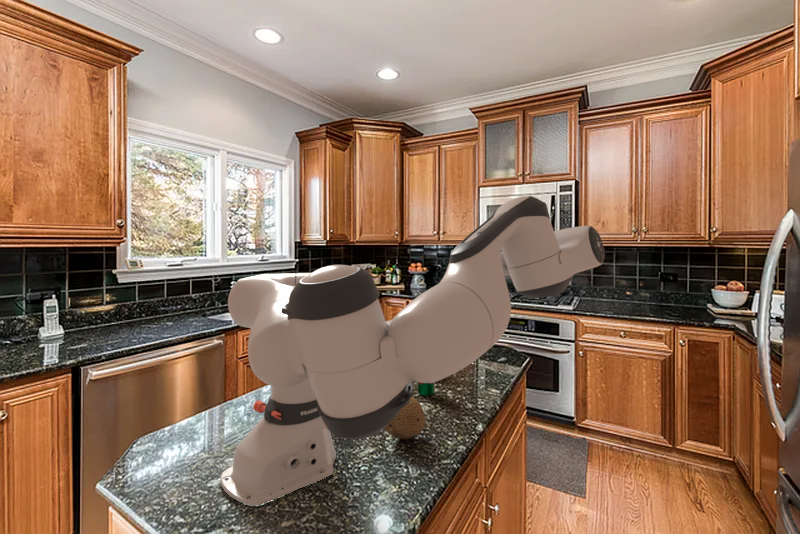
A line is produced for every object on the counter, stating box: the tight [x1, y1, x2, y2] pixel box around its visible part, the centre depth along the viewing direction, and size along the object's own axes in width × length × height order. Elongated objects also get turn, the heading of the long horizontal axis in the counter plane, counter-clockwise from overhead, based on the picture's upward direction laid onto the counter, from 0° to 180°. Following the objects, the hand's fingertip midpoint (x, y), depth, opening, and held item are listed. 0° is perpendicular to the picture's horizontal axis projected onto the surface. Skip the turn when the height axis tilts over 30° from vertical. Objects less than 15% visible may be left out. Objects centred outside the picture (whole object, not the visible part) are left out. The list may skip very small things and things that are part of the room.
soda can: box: [416, 382, 435, 397], centre depth 113 cm, size 5×5×12 cm
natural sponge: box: [384, 396, 426, 441], centre depth 88 cm, size 9×9×10 cm
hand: (477, 272), depth 93 cm, fingers open, 8 cm apart
